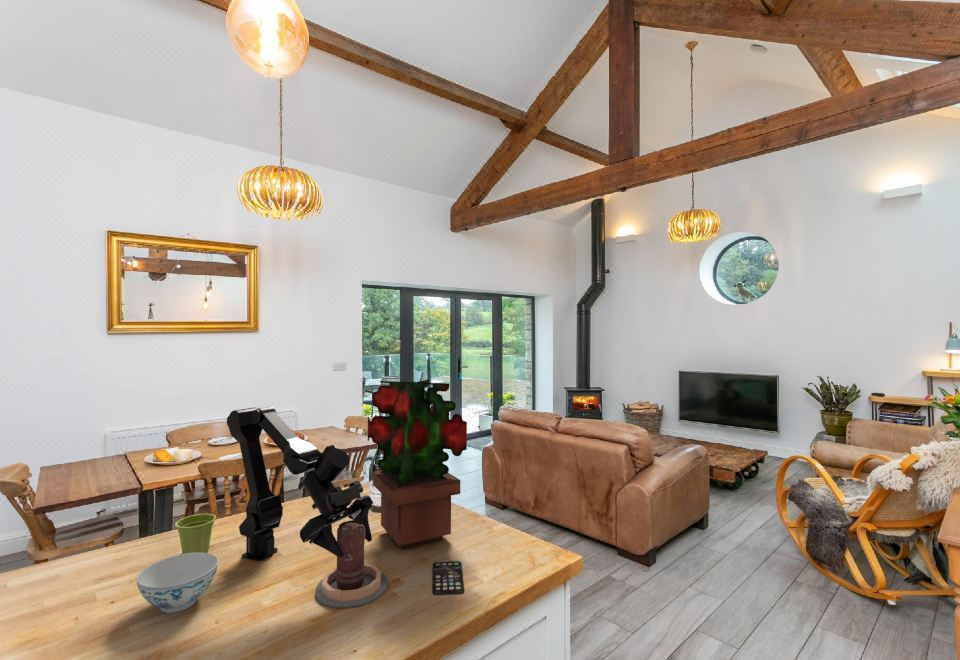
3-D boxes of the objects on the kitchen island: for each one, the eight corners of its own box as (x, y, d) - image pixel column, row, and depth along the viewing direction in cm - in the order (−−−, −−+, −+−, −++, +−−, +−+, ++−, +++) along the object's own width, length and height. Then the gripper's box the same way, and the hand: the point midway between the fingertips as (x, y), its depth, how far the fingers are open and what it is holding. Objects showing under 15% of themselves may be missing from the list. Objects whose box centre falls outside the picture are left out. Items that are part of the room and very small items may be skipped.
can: (364, 590, 107) (364, 529, 106) (335, 593, 106) (335, 531, 105) (365, 576, 113) (366, 518, 112) (338, 578, 112) (338, 520, 111)
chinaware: (157, 634, 92) (157, 594, 92) (123, 610, 100) (123, 574, 100) (231, 597, 105) (232, 563, 105) (196, 578, 113) (196, 546, 113)
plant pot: (166, 556, 124) (166, 524, 124) (199, 542, 133) (199, 511, 133) (191, 563, 120) (191, 529, 120) (223, 548, 129) (223, 516, 129)
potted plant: (390, 561, 122) (391, 388, 122) (367, 529, 141) (368, 380, 142) (466, 542, 133) (467, 384, 133) (434, 515, 152) (435, 377, 152)
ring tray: (300, 600, 104) (300, 588, 104) (343, 566, 119) (343, 556, 119) (362, 614, 99) (362, 602, 99) (399, 577, 114) (399, 566, 114)
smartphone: (461, 560, 122) (464, 592, 107) (461, 563, 122) (464, 595, 107) (432, 562, 121) (432, 593, 106) (432, 564, 121) (432, 596, 106)
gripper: (308, 483, 103) (345, 545, 98) (368, 463, 119) (402, 515, 114) (284, 512, 107) (318, 573, 101) (345, 488, 123) (377, 540, 118)
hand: (356, 548), depth 108 cm, fingers open, 9 cm apart
